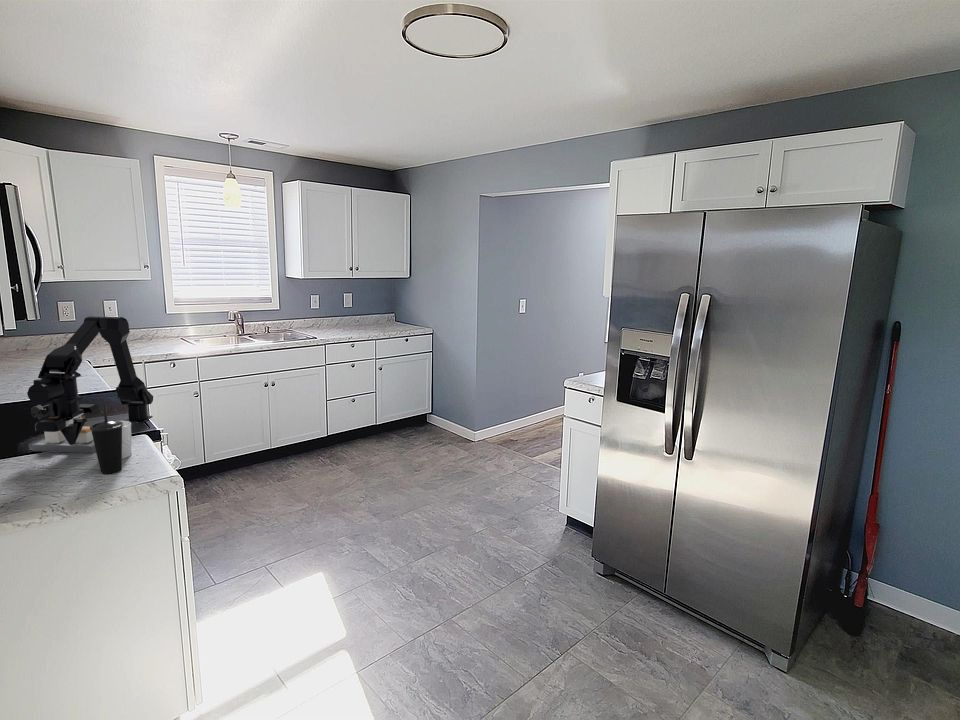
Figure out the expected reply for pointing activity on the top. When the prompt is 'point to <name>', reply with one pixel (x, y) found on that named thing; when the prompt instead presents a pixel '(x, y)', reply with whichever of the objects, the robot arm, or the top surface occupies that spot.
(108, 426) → the drinking cup
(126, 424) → the white cup
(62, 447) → the grey square board
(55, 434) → the block
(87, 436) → the orange fader
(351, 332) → the top surface
